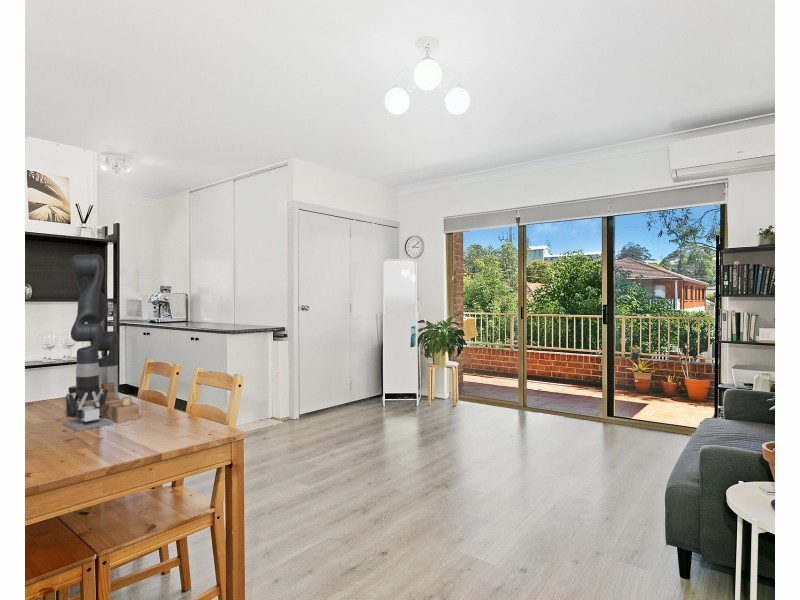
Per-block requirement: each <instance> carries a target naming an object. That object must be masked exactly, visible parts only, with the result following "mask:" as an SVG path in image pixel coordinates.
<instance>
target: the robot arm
mask: <svg viewBox="0 0 800 600" xmlns="http://www.w3.org/2000/svg"><path fill="white" fill-rule="evenodd" d="M70 262H71V268H72V272H73V275H74V278H75V281H76V283H77V287H78V290H79V294H80V296H79V298H78V301H77V314H76V318H75V320H74V323H73V325H72V327H71V330H70V337H71V339H72V340H73V341H74V342H77V343H79V342H90V345H88V346H83V347H80V348H77V351H76V367H75V386H76V391H75V393H72V394H69V393H67V394H66V395H67V399H68V402H69V406H70V408H71V409H75V410H76V417H75V418H76V419H77V418H78V420H81V419H82V410H81V408H82V406H83V404H84V402H85V403H86V402H88V401H91V402H92V404H93V407H96V408H99V407H100V405H102V404H105V400H106V396H107V392H108V390H107V389H101V384H103V383H110V382H112V383H115V398H119V373H118V371H119V369H118V368H119V367H118V366H119V363H118V361H119V358H118V357H119V343H120V342H119V341H120V339H119V334H118V332H117V331H113V330H109V331H108V330H105V331H104V327H103V325H102V322H103V321H104V320H105V319H106V317H107V315H108V313H109V305H108V301H107V297H106V296H105V294H104V293H103V292H102V291H101V289H102V285H103V280H104V274H105V273H104V272H105V262H104V258H103V257H102V255H101V254H99V253H98V254H97V253H95V254H93V253H92V254H91V253H90V254H75V255H73V256H72V258H71V261H70ZM88 277H92V280H91V282H90V281H89V279H88ZM99 352H108V354H107V355H105V356H103V357H100V358H99ZM75 395H76V396H77V397H78V401H77V405H75V402H74V398H75ZM98 401H99V402H98Z"/></svg>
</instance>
